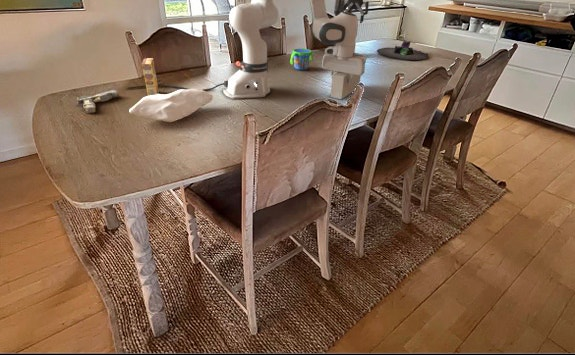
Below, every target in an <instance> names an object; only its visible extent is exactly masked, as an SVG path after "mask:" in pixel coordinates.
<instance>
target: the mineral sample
mask: <svg viewBox="0 0 575 355" xmlns="http://www.w3.org/2000/svg"><path fill="white" fill-rule="evenodd" d="M410 46H411V41H410V40H403V41H402V43H401V44H400V46H399V45H395V46H394V47H382V48H378V49H377V50H376V52H377V53H378V54H379V55H382V56H385V57H388V58H393V59H399V60H408V61H416V60H425V59H428V58H429V56H430V55H429V53H427V52H423V51H421V50H416V49H414V48H413V47H410Z"/></svg>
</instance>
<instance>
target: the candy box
mask: <svg viewBox="0 0 575 355" xmlns="http://www.w3.org/2000/svg"><path fill="white" fill-rule="evenodd" d="M141 66H142V73H143V78H144V82H145V85H146V87H145V88H146V92H147V96H150V95H156V94H159V91H160V90H159V86H158V85H159V84H158V79H157V73H156V66H155V62H154V58H153V57H151V58H150V57H149V58H146V57H145V58H143V60H142V63H141Z"/></svg>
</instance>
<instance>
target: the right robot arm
mask: <svg viewBox="0 0 575 355" xmlns="http://www.w3.org/2000/svg"><path fill="white" fill-rule="evenodd" d="M363 5H364V7H365V9H364V10H363V7H362V6H363ZM369 5H370V2H369V1H368V0H367V1H364V0H335V2H334V8H333V14H334V17H336V16H337V15H339V14H340V13H341V12H349V13H353V11H358V12H359V13H360V20H359V24H362V23H363V22H364V20H365V16H366V15H368V14H369ZM332 46H336V44H332ZM328 47H331V44H330V45H328V46H327V48H328Z"/></svg>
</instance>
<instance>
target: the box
mask: <svg viewBox="0 0 575 355" xmlns="http://www.w3.org/2000/svg"><path fill="white" fill-rule="evenodd" d="M350 77H351V76H350V74H349V73H343V72H338V71H335V72H334V74H333V76H331V88H330V98H335V99H338V100H342V99H344V98H345V97H347V96H348V95H350V94H351V93H353V92H354V91H355V90H356V89H355V85H356V84H357V83H359V84H360V83H361V76H359V75H354V77H353V78H352V80H351V83H347V79H348V78H350ZM354 89H355V90H354Z"/></svg>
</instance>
